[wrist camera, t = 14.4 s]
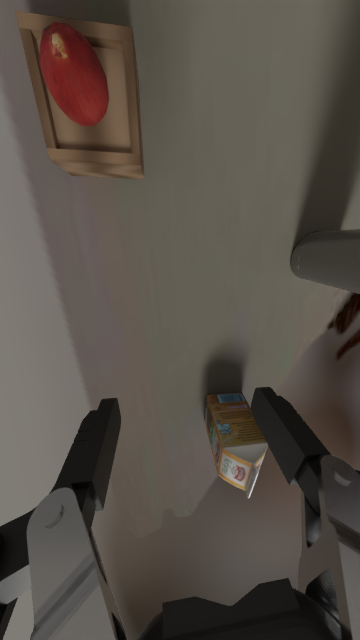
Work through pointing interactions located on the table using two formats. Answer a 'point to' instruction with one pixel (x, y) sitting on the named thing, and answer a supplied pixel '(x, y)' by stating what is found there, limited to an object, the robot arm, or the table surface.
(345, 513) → the robot arm
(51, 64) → the onion
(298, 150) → the table surface
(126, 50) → the wooden tray
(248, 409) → the milk carton
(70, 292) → the table surface
